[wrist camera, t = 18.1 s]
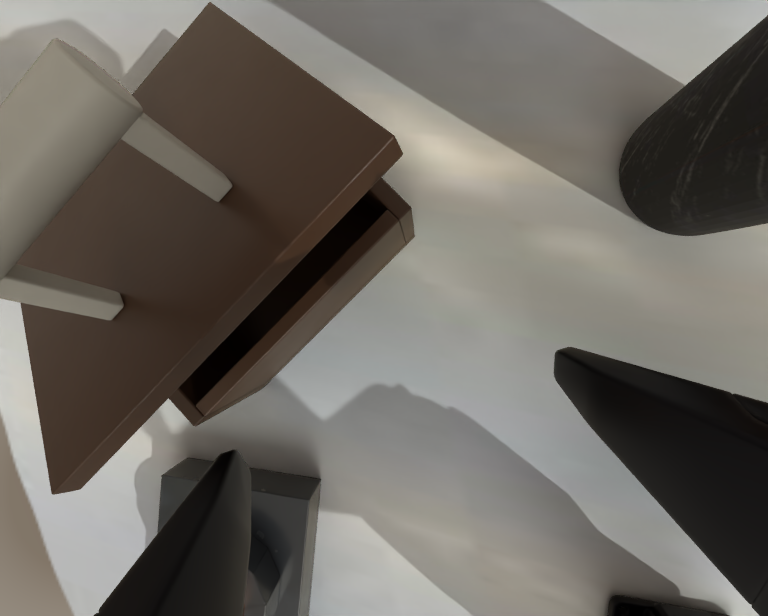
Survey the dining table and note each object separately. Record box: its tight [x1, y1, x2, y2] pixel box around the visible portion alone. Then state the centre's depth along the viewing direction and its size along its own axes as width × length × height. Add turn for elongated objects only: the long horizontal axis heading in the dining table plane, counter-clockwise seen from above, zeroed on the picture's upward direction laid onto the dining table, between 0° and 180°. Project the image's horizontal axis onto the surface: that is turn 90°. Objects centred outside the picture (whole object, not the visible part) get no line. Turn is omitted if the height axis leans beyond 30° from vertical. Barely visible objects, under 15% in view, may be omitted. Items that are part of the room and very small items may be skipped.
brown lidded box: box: [169, 178, 415, 426], centre depth 18 cm, size 11×13×6 cm
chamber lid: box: [0, 2, 403, 494], centre depth 10 cm, size 12×13×5 cm
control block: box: [158, 458, 321, 616], centre depth 20 cm, size 11×9×4 cm
